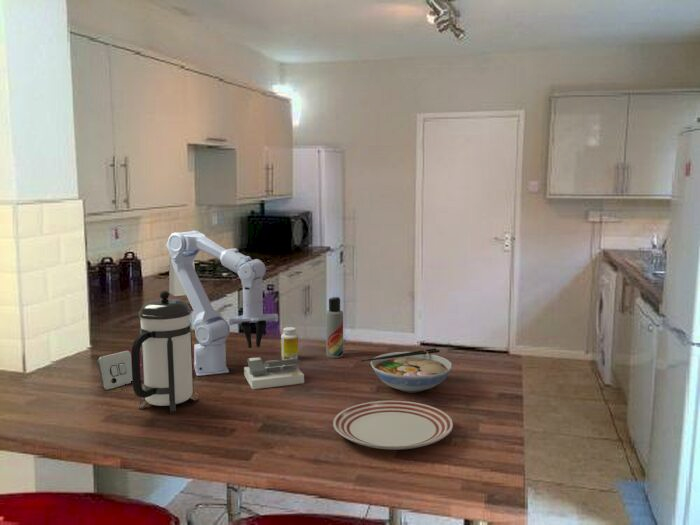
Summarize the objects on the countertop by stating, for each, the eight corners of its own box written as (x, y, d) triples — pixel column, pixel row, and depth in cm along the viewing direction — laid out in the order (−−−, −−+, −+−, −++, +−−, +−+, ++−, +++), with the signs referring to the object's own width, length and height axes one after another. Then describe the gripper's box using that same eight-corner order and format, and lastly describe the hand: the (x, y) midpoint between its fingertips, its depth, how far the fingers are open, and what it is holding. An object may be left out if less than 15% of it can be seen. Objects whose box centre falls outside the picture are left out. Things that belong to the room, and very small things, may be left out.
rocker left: (251, 375, 164) (252, 370, 163) (247, 362, 170) (247, 357, 169) (265, 373, 165) (266, 369, 165) (260, 361, 171) (261, 356, 171)
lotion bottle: (341, 358, 190) (341, 299, 187) (324, 357, 191) (324, 298, 188) (344, 353, 195) (344, 296, 193) (328, 353, 196) (328, 295, 194)
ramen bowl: (388, 409, 147) (388, 378, 146) (354, 381, 168) (354, 354, 167) (471, 396, 156) (472, 366, 155) (429, 371, 177) (429, 345, 176)
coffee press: (134, 398, 154) (128, 288, 150) (195, 391, 160) (191, 284, 156) (134, 423, 138) (128, 300, 134) (202, 413, 144) (198, 295, 140)
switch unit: (252, 389, 161) (252, 377, 161) (244, 375, 173) (244, 363, 173) (304, 383, 166) (304, 371, 166) (292, 369, 178) (292, 358, 178)
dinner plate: (308, 432, 133) (308, 419, 133) (387, 402, 152) (387, 390, 152) (398, 474, 114) (399, 458, 113) (476, 433, 133) (476, 419, 132)
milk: (196, 294, 304) (195, 245, 301) (174, 296, 298) (172, 246, 295) (190, 290, 314) (189, 243, 311) (169, 292, 308) (167, 244, 305)
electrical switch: (105, 391, 160) (102, 358, 159) (96, 388, 163) (93, 356, 163) (136, 382, 167) (133, 350, 167) (127, 380, 170) (124, 349, 170)
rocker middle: (269, 367, 165) (268, 361, 166) (264, 366, 172) (263, 361, 172) (282, 365, 167) (282, 360, 167) (277, 365, 173) (277, 359, 174)
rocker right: (286, 365, 167) (285, 359, 167) (280, 364, 174) (280, 359, 174) (299, 364, 169) (298, 358, 169) (293, 363, 175) (293, 358, 175)
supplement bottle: (301, 359, 189) (301, 328, 188) (287, 362, 186) (286, 331, 185) (292, 355, 194) (291, 325, 192) (278, 358, 190) (277, 328, 189)
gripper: (229, 305, 162) (231, 352, 164) (280, 302, 167) (281, 347, 169) (226, 301, 169) (227, 346, 170) (274, 297, 174) (275, 341, 175)
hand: (253, 346), depth 170 cm, fingers closed
